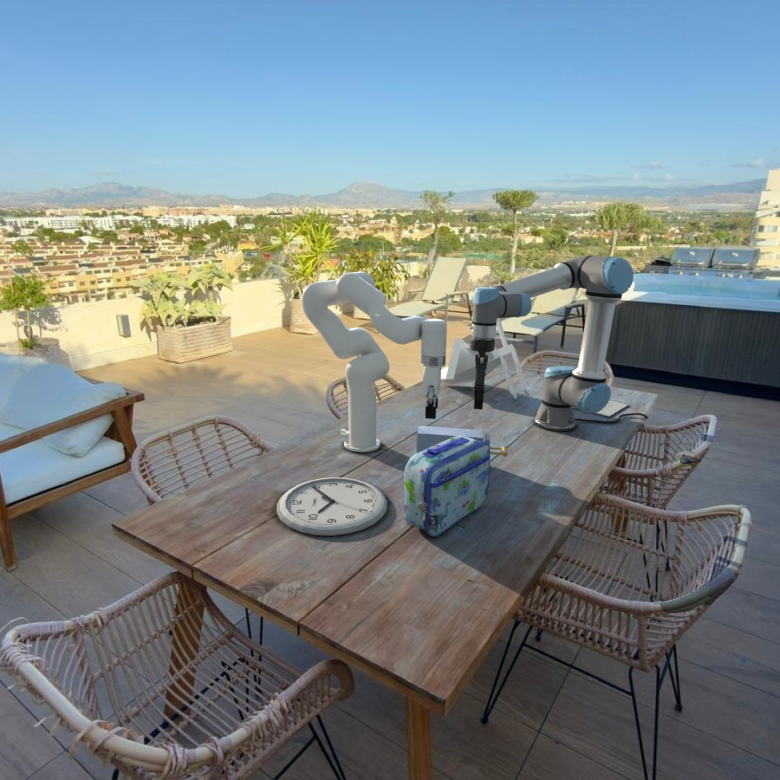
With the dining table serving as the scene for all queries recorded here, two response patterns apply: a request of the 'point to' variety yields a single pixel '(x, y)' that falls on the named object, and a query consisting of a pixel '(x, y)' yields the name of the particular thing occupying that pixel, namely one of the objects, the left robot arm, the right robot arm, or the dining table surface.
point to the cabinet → (442, 435)
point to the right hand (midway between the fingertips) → (478, 402)
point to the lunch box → (446, 483)
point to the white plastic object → (465, 364)
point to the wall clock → (331, 506)
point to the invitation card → (611, 408)
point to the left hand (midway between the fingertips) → (431, 413)
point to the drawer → (504, 451)
